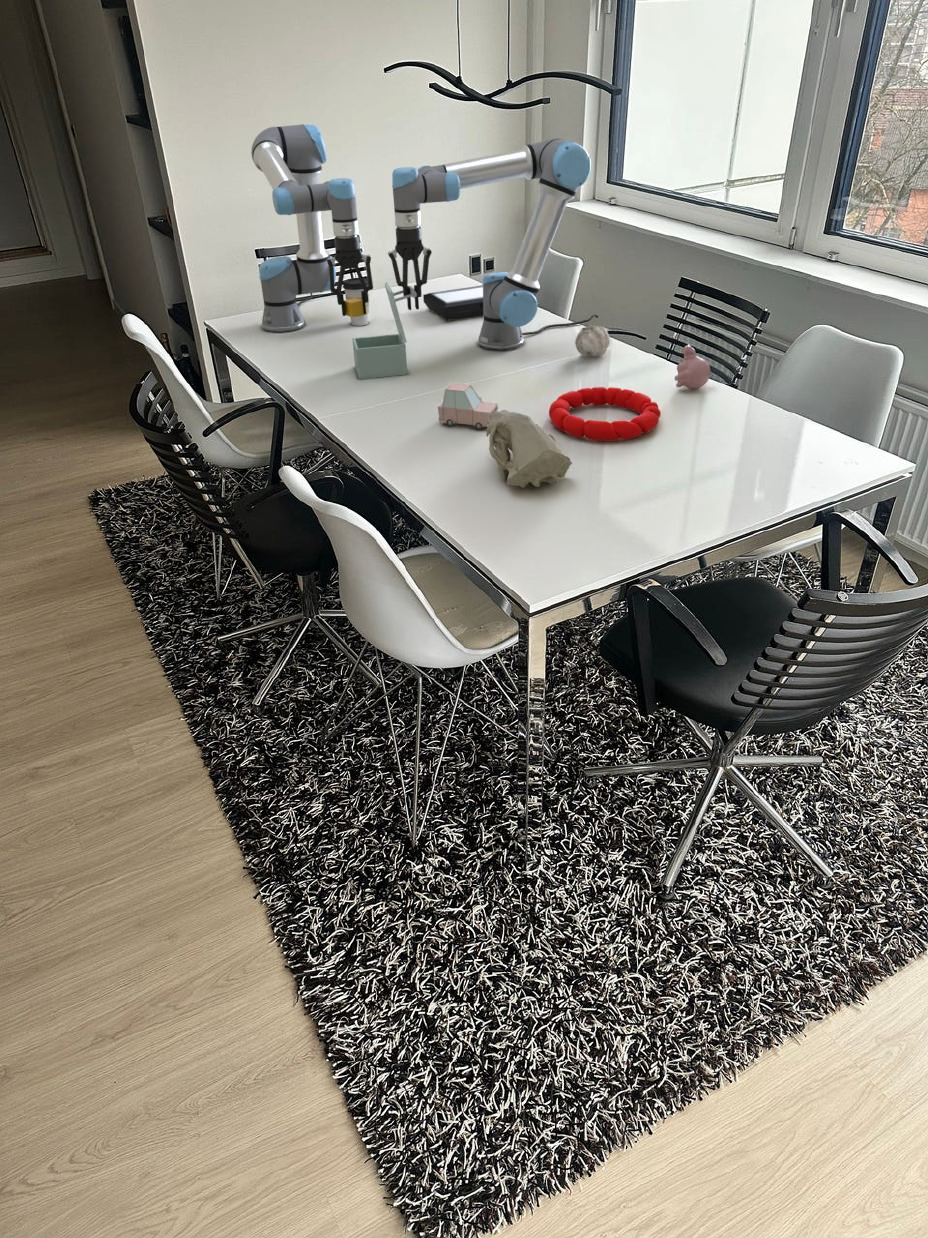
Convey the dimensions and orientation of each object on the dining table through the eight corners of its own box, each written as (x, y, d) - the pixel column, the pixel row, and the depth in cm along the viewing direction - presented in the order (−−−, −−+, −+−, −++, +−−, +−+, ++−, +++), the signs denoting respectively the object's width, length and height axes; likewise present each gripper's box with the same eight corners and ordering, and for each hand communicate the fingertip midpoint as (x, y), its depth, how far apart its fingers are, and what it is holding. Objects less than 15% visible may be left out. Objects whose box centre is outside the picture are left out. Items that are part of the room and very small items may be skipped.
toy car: (488, 432, 240) (488, 396, 234) (436, 426, 244) (434, 390, 239) (499, 419, 247) (499, 384, 241) (448, 413, 252) (447, 379, 246)
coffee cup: (372, 326, 323) (368, 283, 314) (345, 327, 323) (340, 284, 315) (374, 318, 331) (371, 276, 322) (348, 319, 331) (344, 277, 323)
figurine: (665, 387, 264) (669, 347, 257) (693, 380, 268) (698, 340, 261) (686, 396, 257) (690, 355, 250) (714, 388, 262) (720, 348, 255)
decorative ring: (589, 435, 224) (684, 402, 234) (527, 398, 247) (617, 369, 256) (589, 461, 229) (683, 427, 238) (529, 422, 251) (617, 393, 260)
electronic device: (443, 305, 321) (423, 292, 336) (444, 322, 324) (424, 309, 339) (522, 293, 331) (499, 281, 346) (522, 310, 334) (499, 297, 350)
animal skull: (496, 517, 219) (521, 479, 201) (463, 429, 225) (484, 384, 207) (557, 503, 225) (586, 465, 206) (523, 417, 231) (549, 373, 212)
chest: (359, 379, 278) (356, 349, 272) (355, 367, 287) (352, 338, 282) (407, 374, 280) (405, 344, 275) (401, 362, 290) (399, 333, 284)
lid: (389, 292, 265) (414, 284, 265) (384, 282, 275) (408, 275, 275) (403, 343, 274) (428, 335, 275) (398, 332, 284) (422, 324, 284)
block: (352, 317, 279) (350, 303, 277) (344, 314, 282) (343, 300, 280) (364, 314, 282) (362, 300, 279) (356, 311, 284) (354, 297, 282)
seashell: (565, 355, 290) (566, 324, 284) (602, 347, 296) (604, 317, 290) (583, 364, 283) (584, 332, 277) (621, 355, 288) (623, 324, 283)
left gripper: (316, 240, 264) (325, 319, 277) (379, 235, 267) (385, 314, 280) (314, 235, 270) (323, 313, 283) (376, 231, 273) (382, 308, 286)
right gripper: (385, 230, 257) (391, 313, 271) (435, 227, 260) (438, 309, 273) (381, 225, 263) (388, 307, 277) (430, 222, 266) (434, 302, 279)
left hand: (354, 313), depth 282 cm, fingers closed on block, 6 cm apart
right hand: (413, 308), depth 275 cm, fingers closed on lid, 2 cm apart
